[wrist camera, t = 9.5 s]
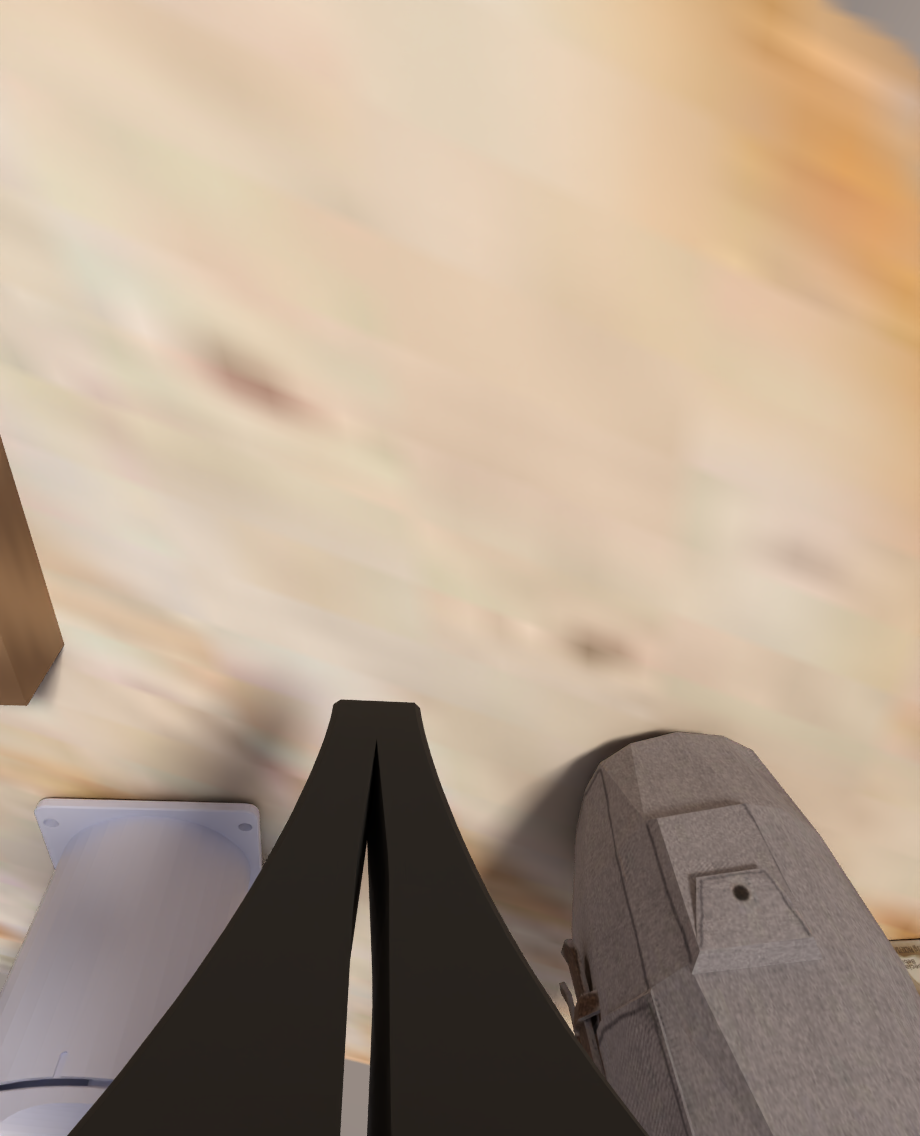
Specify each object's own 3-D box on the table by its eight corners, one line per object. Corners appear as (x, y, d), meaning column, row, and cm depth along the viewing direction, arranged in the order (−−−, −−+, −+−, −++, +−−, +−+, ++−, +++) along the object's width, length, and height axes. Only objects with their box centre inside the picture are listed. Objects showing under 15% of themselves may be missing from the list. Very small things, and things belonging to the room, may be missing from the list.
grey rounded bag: (701, 895, 33) (993, 1695, 16) (529, 910, 32) (653, 1738, 16) (771, 667, 24) (1546, 1907, 8) (535, 686, 24) (819, 2005, 7)
